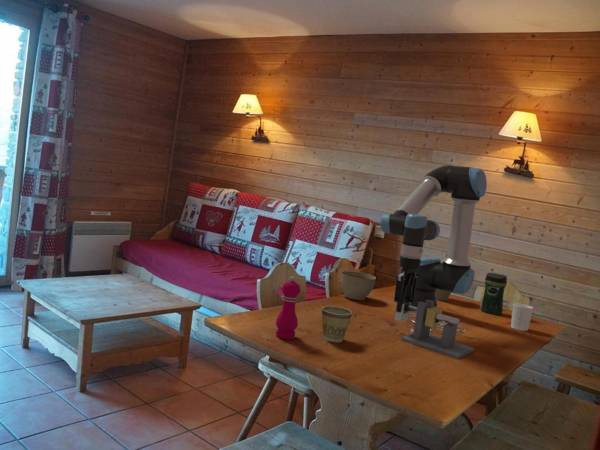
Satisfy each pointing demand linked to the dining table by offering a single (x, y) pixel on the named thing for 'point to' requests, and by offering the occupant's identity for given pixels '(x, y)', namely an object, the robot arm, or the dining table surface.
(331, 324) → the ceramic cup
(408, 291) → the robot arm
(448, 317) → the shaft
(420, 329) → the shaft stand
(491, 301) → the coffee jar
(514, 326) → the white cup
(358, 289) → the planter bowl
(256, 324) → the dining table surface
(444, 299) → the plant pot
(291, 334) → the pepper mill
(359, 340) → the dining table surface
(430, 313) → the spacer
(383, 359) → the dining table surface
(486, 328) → the dining table surface
